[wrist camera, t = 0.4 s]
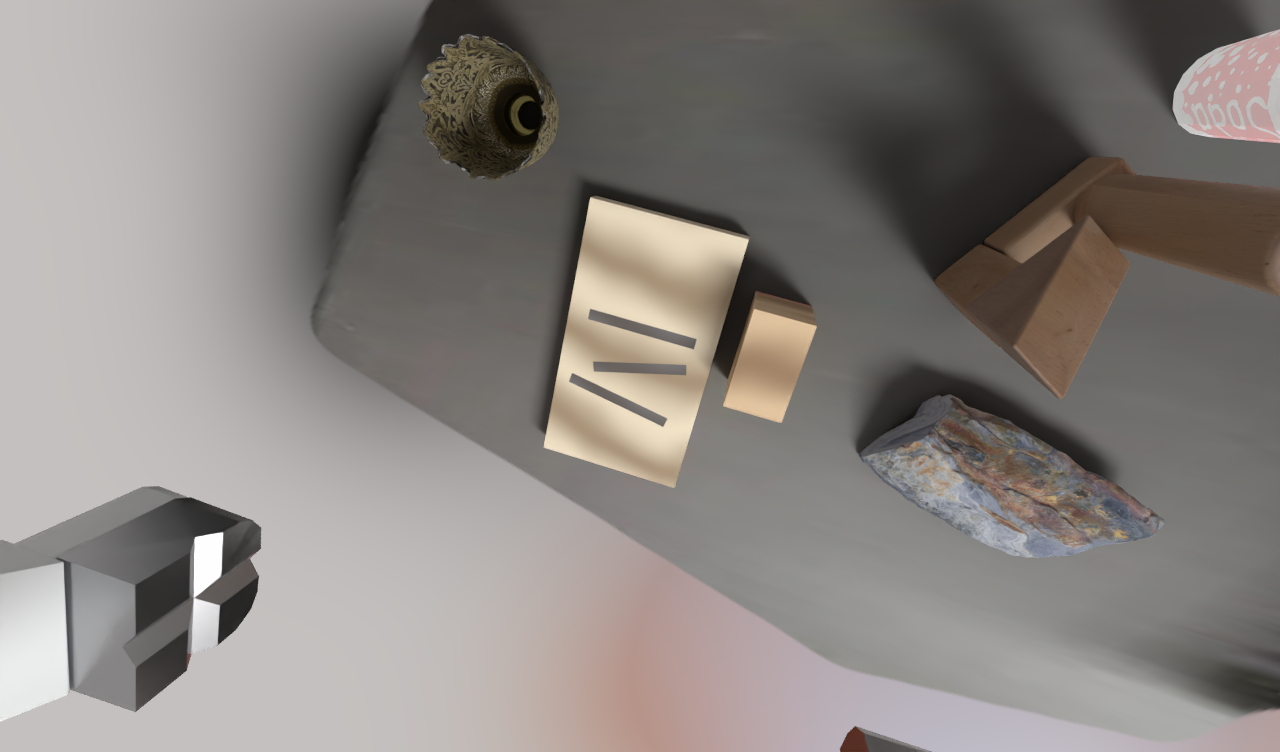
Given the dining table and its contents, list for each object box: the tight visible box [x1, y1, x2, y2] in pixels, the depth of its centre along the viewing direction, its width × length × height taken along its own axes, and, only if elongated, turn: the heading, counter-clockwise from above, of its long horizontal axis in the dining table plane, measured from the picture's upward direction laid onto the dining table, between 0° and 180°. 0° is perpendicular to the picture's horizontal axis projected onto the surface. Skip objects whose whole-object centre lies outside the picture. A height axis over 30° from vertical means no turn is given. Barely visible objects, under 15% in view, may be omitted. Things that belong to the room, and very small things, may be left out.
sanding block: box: [723, 291, 817, 423], centre depth 41 cm, size 7×4×5 cm, turn 167°
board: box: [544, 196, 749, 488], centre depth 44 cm, size 20×11×2 cm, turn 167°
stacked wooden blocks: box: [935, 156, 1280, 399], centre depth 29 cm, size 4×11×18 cm, turn 137°
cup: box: [418, 34, 559, 180], centre depth 37 cm, size 8×7×8 cm
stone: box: [859, 394, 1165, 558], centre depth 42 cm, size 17×5×10 cm
